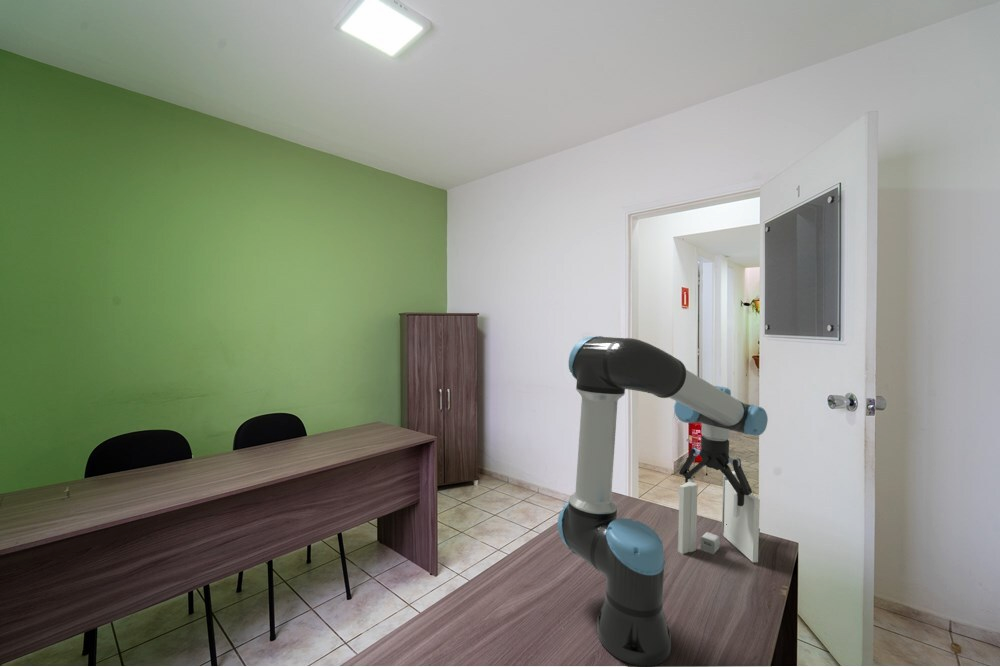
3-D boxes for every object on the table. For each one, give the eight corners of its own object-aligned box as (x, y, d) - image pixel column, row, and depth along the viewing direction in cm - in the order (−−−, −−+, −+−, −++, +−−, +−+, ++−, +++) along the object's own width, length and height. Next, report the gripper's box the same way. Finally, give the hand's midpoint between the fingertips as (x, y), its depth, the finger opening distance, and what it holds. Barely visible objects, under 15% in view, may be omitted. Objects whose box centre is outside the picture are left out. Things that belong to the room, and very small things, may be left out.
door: (723, 536, 128) (725, 480, 128) (731, 536, 128) (733, 480, 128) (752, 562, 114) (754, 499, 114) (761, 562, 114) (763, 499, 114)
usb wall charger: (700, 549, 122) (700, 536, 121) (708, 540, 126) (708, 528, 126) (714, 555, 119) (715, 541, 119) (722, 546, 124) (722, 533, 123)
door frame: (683, 555, 118) (685, 487, 118) (676, 550, 121) (677, 484, 120) (737, 533, 131) (739, 473, 130) (730, 530, 133) (731, 470, 132)
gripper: (766, 445, 114) (763, 520, 115) (681, 427, 134) (679, 490, 134) (756, 450, 110) (753, 527, 110) (669, 430, 129) (667, 495, 130)
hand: (712, 507), depth 122 cm, fingers open, 13 cm apart
